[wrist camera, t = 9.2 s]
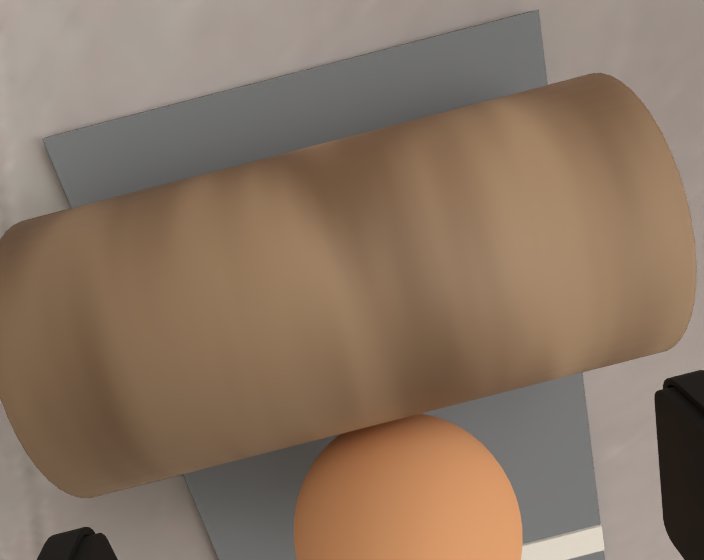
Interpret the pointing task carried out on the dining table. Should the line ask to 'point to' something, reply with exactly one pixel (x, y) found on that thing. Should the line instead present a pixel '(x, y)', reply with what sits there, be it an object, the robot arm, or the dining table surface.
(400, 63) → the throwing mat
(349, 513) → the ball
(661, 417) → the robot arm
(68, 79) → the dining table surface
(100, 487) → the brown cylinder
